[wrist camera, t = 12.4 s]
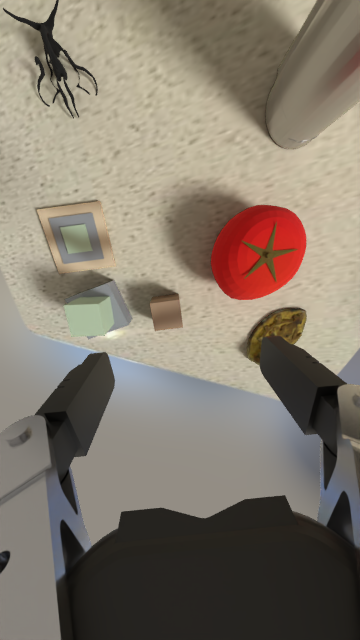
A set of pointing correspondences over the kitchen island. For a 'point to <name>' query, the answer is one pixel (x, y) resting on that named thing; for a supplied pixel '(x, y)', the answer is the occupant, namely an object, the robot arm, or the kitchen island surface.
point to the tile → (77, 237)
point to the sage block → (89, 316)
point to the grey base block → (117, 303)
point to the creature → (53, 55)
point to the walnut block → (166, 312)
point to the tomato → (258, 252)
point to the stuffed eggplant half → (277, 330)
